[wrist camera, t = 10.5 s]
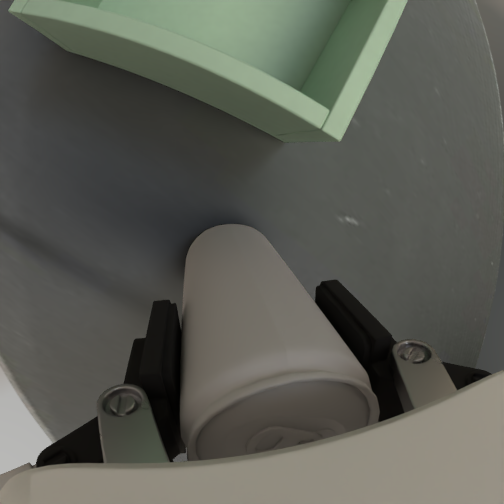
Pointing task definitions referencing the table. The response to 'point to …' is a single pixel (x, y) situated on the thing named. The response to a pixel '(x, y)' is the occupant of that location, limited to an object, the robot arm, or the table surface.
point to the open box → (236, 52)
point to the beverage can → (260, 354)
